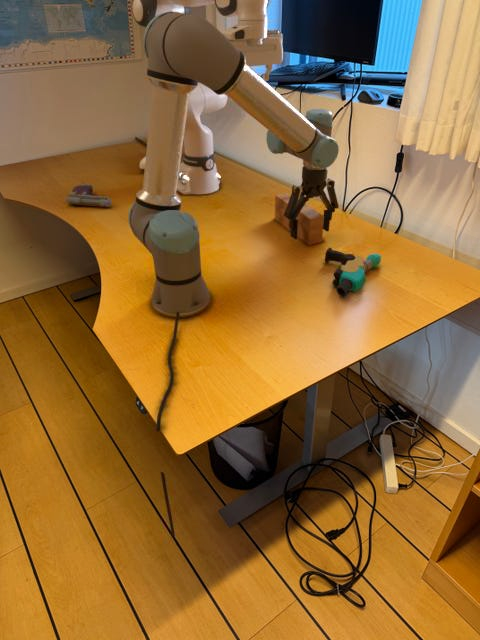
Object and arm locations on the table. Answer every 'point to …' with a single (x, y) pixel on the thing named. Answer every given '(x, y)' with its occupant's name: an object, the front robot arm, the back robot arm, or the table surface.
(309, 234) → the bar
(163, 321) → the table surface
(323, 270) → the table surface
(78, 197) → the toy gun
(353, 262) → the toy gun
